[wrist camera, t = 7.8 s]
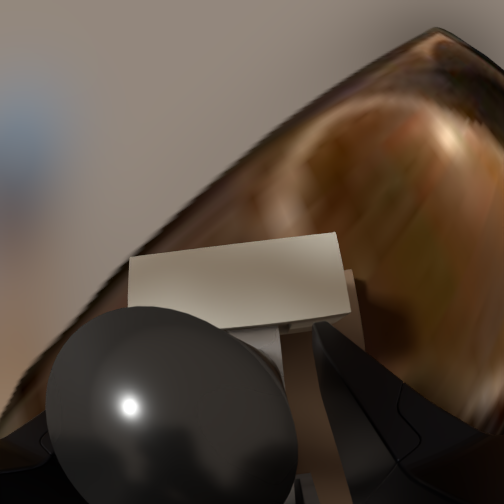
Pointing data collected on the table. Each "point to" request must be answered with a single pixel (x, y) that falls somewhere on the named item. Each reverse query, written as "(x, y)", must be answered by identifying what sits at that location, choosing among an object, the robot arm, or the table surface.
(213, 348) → the dark knobbed lever handle
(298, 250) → the base
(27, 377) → the table surface
